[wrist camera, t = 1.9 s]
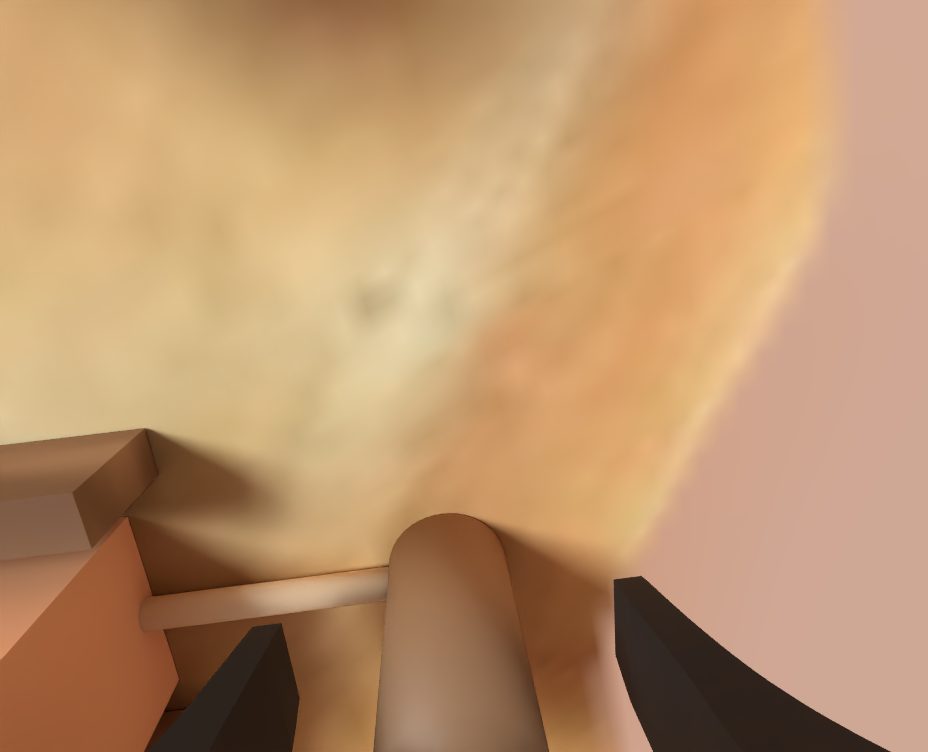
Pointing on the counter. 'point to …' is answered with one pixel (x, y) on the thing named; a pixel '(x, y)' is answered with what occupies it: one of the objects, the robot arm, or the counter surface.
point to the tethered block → (145, 617)
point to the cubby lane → (72, 497)
